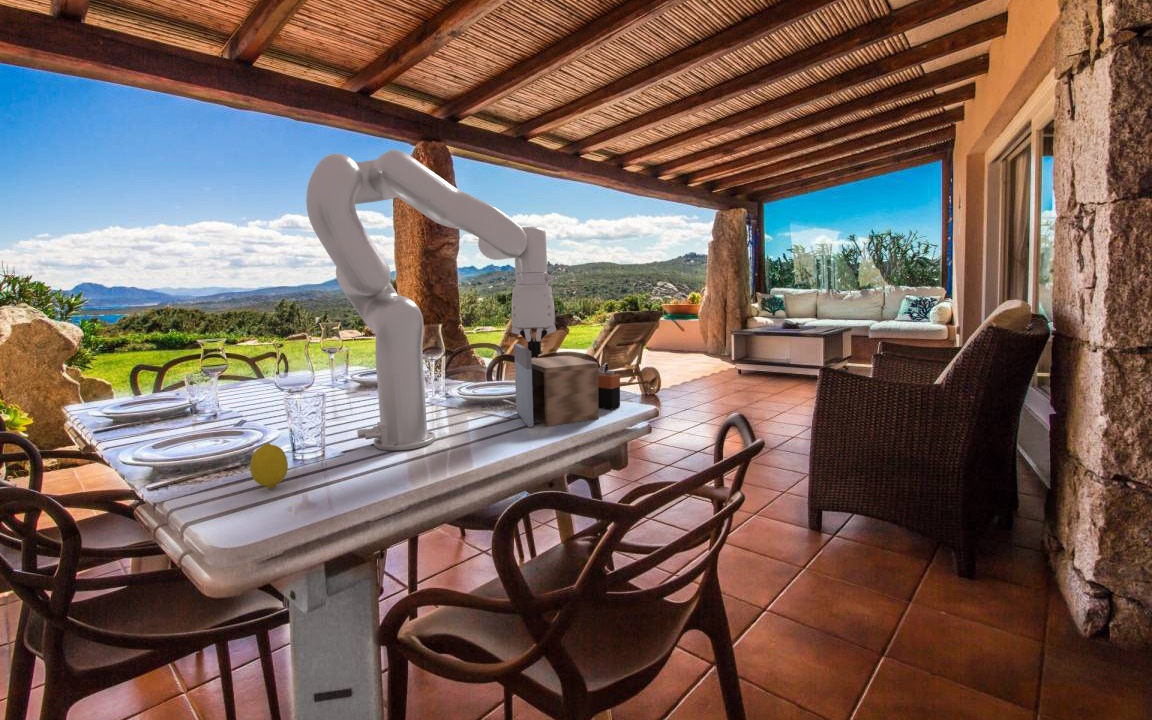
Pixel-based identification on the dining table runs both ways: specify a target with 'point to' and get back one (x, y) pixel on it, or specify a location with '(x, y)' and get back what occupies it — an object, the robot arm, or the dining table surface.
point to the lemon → (268, 465)
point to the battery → (608, 390)
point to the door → (523, 384)
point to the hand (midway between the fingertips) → (534, 357)
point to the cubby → (564, 390)
